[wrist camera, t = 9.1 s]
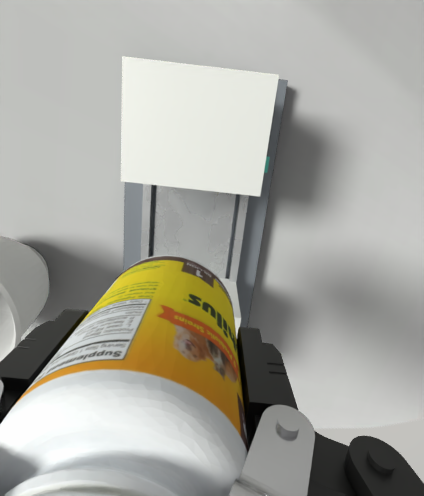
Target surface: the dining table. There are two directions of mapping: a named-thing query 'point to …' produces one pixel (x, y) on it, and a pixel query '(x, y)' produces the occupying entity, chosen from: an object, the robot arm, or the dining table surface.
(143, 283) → the supplement bottle
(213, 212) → the steel rail
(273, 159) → the rail board
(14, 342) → the teacup
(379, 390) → the dining table surface
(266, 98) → the mounted modules
